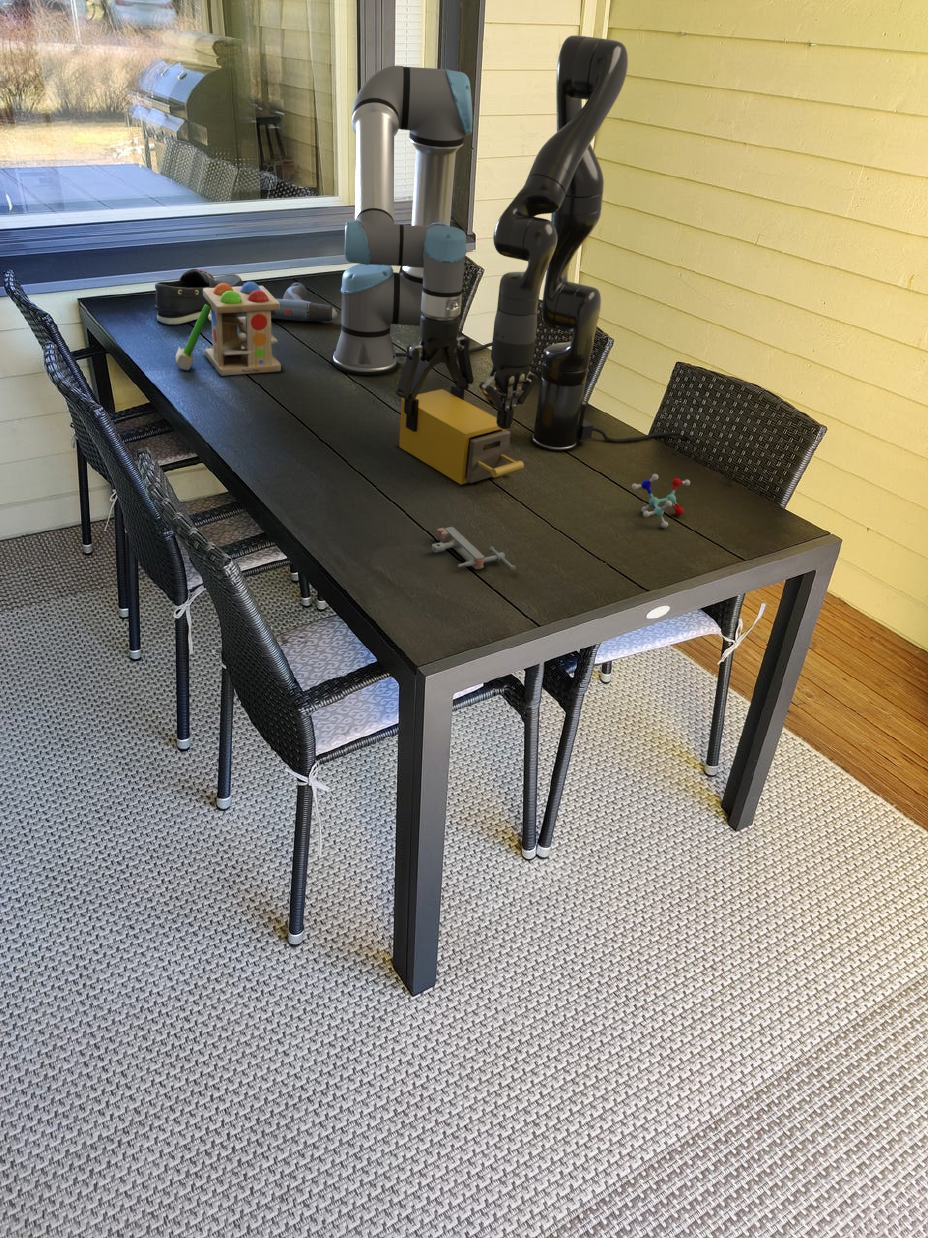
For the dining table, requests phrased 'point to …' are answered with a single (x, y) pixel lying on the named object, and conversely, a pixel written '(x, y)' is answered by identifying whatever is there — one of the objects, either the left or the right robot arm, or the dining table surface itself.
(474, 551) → the clamp
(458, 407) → the cabinet
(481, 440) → the drawer
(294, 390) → the dining table surface
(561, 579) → the dining table surface
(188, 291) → the boat shoe
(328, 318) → the power drill
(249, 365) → the pounding bench toy
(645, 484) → the molecular model
